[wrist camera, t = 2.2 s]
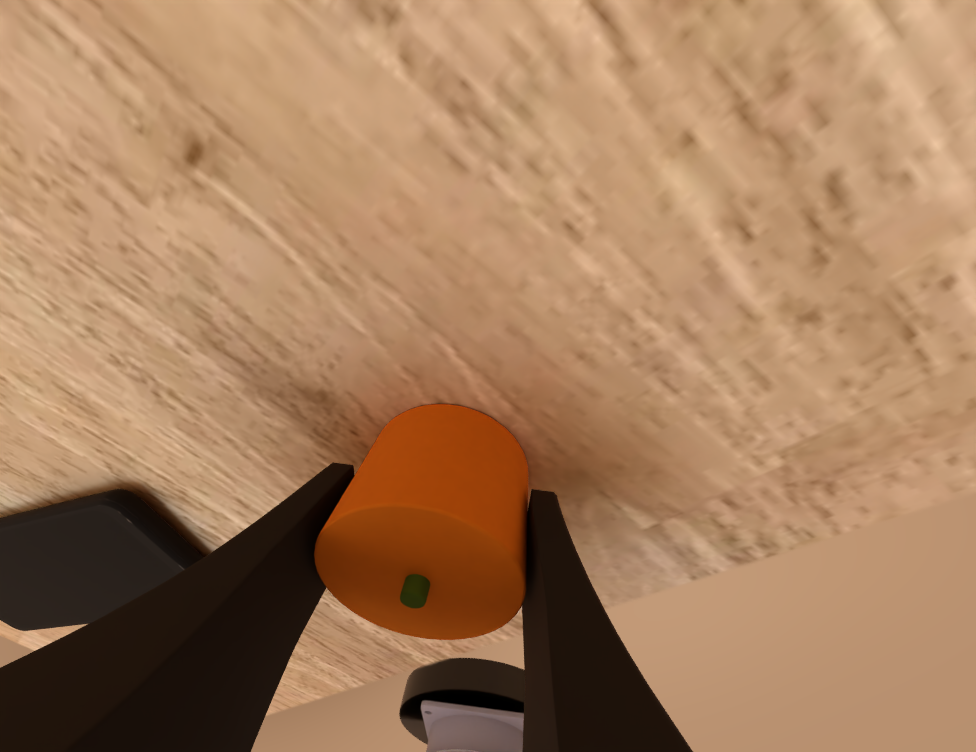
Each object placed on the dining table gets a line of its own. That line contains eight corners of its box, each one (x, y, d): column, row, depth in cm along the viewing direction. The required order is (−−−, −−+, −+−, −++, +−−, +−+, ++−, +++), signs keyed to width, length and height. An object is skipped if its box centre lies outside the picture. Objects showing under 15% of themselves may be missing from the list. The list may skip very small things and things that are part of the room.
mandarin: (525, 527, 13) (522, 672, 9) (387, 516, 13) (330, 648, 9) (530, 406, 10) (530, 534, 7) (362, 399, 11) (273, 513, 7)
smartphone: (231, 609, 16) (20, 633, 19) (245, 589, 16) (38, 616, 20) (107, 498, 13) (-114, 552, 17) (130, 480, 14) (-87, 536, 17)
